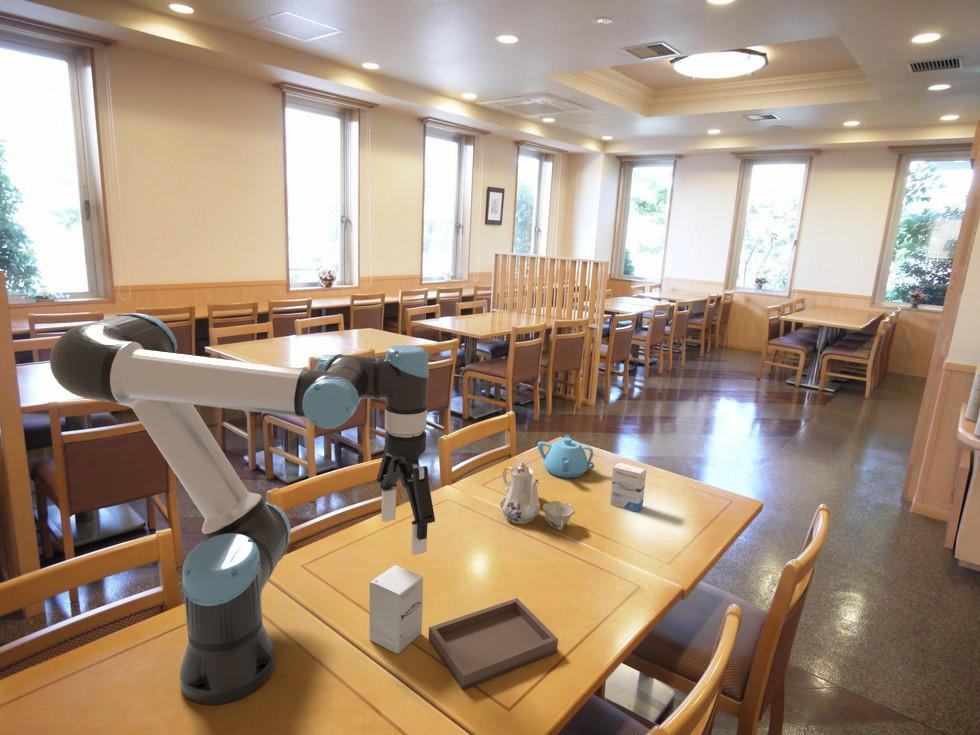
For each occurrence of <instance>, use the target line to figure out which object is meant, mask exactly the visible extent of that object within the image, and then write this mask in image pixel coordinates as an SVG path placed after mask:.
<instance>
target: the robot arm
mask: <svg viewBox="0 0 980 735" xmlns="http://www.w3.org/2000/svg"><path fill="white" fill-rule="evenodd" d="M177 350H178V343H177V339H176V337H175V335H174V332H172V330H171V329H170V328H169V326H168V325H167V324H166V323H164V322H163V321H162V320H160V319H158V318H157V317H154V316H153V315H148V314H146V313H140V312H139V313H137V312H136V313H135V312H134V313H123V314H116V315H114V316H111V317H108V318H104V319H101V320H98V321H93V322H90V323H85V324H82V325H77V326H74V327H72V328H70V329H68V330H67V331H65V333H62V335H60V337H58V338H57V340H56V342H55V343H54V345H53V346H52V349H51V350H50V356H49V365H50V366H49V367H50V369H51V370H50V371H51V373H52V375H53V377H54V379H55V380H56V382H57V383H58V384H59V385H60V386H61V387H62V388H63V389H65V390H66V391H68V392H69V393H71V394H73V395H75V396H77V397H81V398H83V399H87V400H94V401H99V402H100V401H101V402H107V403H116V404H117V405H119V406H120V405H121V406H125V407H129V408H131V409H132V411H133V412H134V414H135V415H136V417H137V418H138V420H139V421H140V423H141V424H142V426H143V427H144V429H145V430H146V432H147V433H148V435H149V437H150V438H151V439H152V441H153V442H154V444H155V446H156V447H157V449H158V450H159V452H160V453H161V455H162V456H163V458H164V459H165V460H166V462H167V464H168V465H169V467H170V468H171V469H172V471H173V474H175V476H176V477H177V479H178V481H180V483H181V485H182V486H183V488H184V489H185V491H186V493H187V494H188V496H189V497H190V499H191V500H192V502H193V503H194V505H195V506H196V507H197V510H198V511H199V512H200V513H201V515H202V517H203V518H204V520H203V525H202V528H201V532H202V534H203V535H204V537H205V538H206V540H203V541H201V542H200V543H197V545H195V547H193V548H192V549H191V550H190V552H189V553H188V554H187V556H186V557H185V559H184V562H183V566H182V578H181V585H182V591H183V596H184V597H183V598H184V607H185V609H184V610H185V619H186V628H187V638H188V642H187V645H186V647H185V648H186V649H185V651H184V652H185V653H184V655H183V657H182V658H183V659H182V662H181V665H180V670H179V683H180V689H181V691H182V693H183V695H184V696H185V697H186V698H187V699H188V700H190V701H192V702H195V703H198V704H201V705H222V704H226V703H231V702H235V701H237V700H240V699H242V698H245V697H247V696H248V695H250V694H252V693H253V692H255V691H257V690H258V689H260V688H261V687H262V686H263V685H264V684H265V683H266V682H267V681H268V680H269V678H270V677H271V675H272V674H273V671H274V669H275V666H276V652H275V646H274V644H273V642H272V640H271V638H270V637H271V636H269V633H268V631H267V630H266V628H265V626H264V623H263V610H262V609H263V607H262V593H263V590H264V589H265V587H266V585H267V583H268V581H269V580H270V578H271V576H272V574H273V572H274V571H275V569H276V567H277V565H278V563H279V562H280V561H281V560H282V559H283V557H284V556H285V554H286V551H287V548H288V546H289V543H290V540H291V534H292V533H291V524H290V520H289V519H288V517H287V515H286V513H285V512H284V510H282V509H281V508H280V507H279V506H277V505H276V504H271V503H270V502H267V501H265V500H264V498H263V496H262V495H261V494H259V493H256V492H250V491H248V489H247V488H246V486H245V485H244V483H243V481H242V480H241V478H240V477H239V475H238V474H237V471H236V470H235V469H234V467H233V465H232V464H231V462H230V461H229V460H228V457H227V456H226V455H225V453H224V451H223V450H222V448H221V447H220V445H219V443H218V442H217V441H216V439H215V437H214V435H213V434H212V432H211V431H210V429H209V428H208V426H207V424H206V423H205V421H204V420H203V418H202V417H201V415H200V414H199V412H198V410H197V408H196V407H195V406H204V407H213V408H221V409H228V410H229V409H230V410H237V411H238V410H239V411H247V412H255V413H262V414H263V413H264V414H265V413H266V414H272V415H273V414H274V415H283V416H293V417H298V418H300V417H301V418H306V419H307V421H308V422H310V423H311V424H313V425H314V426H316V427H318V428H322V429H325V430H326V429H329V430H330V429H336V428H338V427H340V426H342V425H343V424H345V423H346V422H347V421H348V420H349V419H350V418H352V416H353V415H354V414H355V412H357V410H358V409H357V408H358V406H359V404H360V402H361V401H362V399H369V400H370V399H371V400H385V407H384V430H386V431H385V432H384V446H383V454H382V455H383V456H382V459H381V462H380V465H379V469H378V473H377V477H376V482H377V483H378V484H380V485H379V486H380V490H381V523H386V522H391V521H394V520H396V518H397V516H396V512H397V510H396V509H397V489H396V487H397V486H398V484H397V483H398V480H399V479H400V481H401V483H402V487H403V488H405V489H406V493H407V496H408V499H409V504H410V508H411V511H412V515H413V519H414V520H412V521H411V544H410V546H411V549H410V552H411V553H410V554H411V555H412V556H417V555H420V554H424V553H427V551H428V550H427V548H428V547H427V546H428V545H427V543H428V524H431V523H435V522H436V518H435V512H434V505H433V501H432V500H433V499H432V494H431V489H430V483H429V468H428V466H427V465H424V466H420V460H419V457H420V456H421V455H422V454H424V453H425V451H426V449H427V432H426V430H427V418H428V415H429V411H428V398H429V397H428V396H429V380H430V379H429V377H430V370H429V354H428V351H427V350H426V349H424V348H423V347H420V346H417V345H412V344H411V345H409V344H405V345H404V344H403V345H393V346H390V347H388V348H387V350H386V353H385V356H365V355H346V354H342V353H337V354H324V355H321V356H320V357H319V358H318V359H317V363H316V365H315V369H305V368H302V367H301V368H299V367H291V366H282V365H273V364H265V363H259V362H258V363H257V362H249V361H243V360H234V359H233V360H232V359H226V358H225V359H224V358H216V357H208V356H199V355H191V354H184V353H177Z"/></svg>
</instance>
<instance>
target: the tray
mask: <svg viewBox="0 0 980 735" xmlns="http://www.w3.org/2000/svg"><path fill="white" fill-rule="evenodd" d="M428 642H429V644H430V645H431V646H432V648H433V649H434V652H435V653H436V654H437V656H438V657H439V658H440V660H441V661H442V663H443V665H444V666H445V667H446V668H447V670H448V671H449V673H450V674H451V675H452V677H453V679H454V680H455V682H456V683H457V684H458V686H459V688H460V689H461V690H462V691H466V690H468V689H471V688H473V687H476V686H478V685H481V684H483V683H486V682H488V681H491V680H493V679H496V678H498V677H500V676H503V675H505V674H508V673H510V671H511V672H513V671H515V669H516V670H518V669H520V668H522V667H523V668H524V667H525V666H527V665H530V664H533V663H535V662H537V661H540V660H543V659H545V658H548V657H550V656H552V655H554V654H555V655H556V654H557V653H558V644H559V639H558V637H557V636H556V635H555V634H554V633H553V632H552V631H551V630H549V627H547V626H546V625H545V624H544V623H543V622H542V621H541V620H540V619H539V618H538V617H537V616H536V615H534V613H533V612H531V610H530V609H529V608H528V607H527V606H526V605H525V604H524V603H523V602H522V601H521V600H520V599H519V598H518V597H516V598H513V599H509V600H507V601H504V602H501V603H498V604H495V605H492V606H489V607H487V608H484V609H480V610H477V611H474V612H471V613H468V614H465V615H462V616H460V617H456V618H453V619H450V620H447V621H444V622H441V623H438V624H435V625H431V626H429V627H428Z"/></svg>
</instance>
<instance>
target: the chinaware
mask: <svg viewBox="0 0 980 735" xmlns="http://www.w3.org/2000/svg"><path fill="white" fill-rule="evenodd" d="M508 470H509V473H510V477H511V479H510V481H509V482H508V481H507V471H508ZM534 473H535V472H534V469H532V468H529V467H528V466H527V465H526V464H525V462H524V461H521V462H520V463H519V465H517V466H514V467H511V466H507V467H505V468H504V469H503V471H502V479H503V482H504V485H505V486H506V488H505V493H506V495H505V497H504V498H503V499H502V500H501V502H500V504H499V507H500V509H501V511H502V513H503V517H504V520H506V521H508V522H509V523H512V524H516V525H526V524H530V523H532V522H533V521H535V518H536V517H537V516H539V515H540V511H541V509H540V508H541V507H542V510H543V512H544V517H545V519H546V520H547V522H548V524H550V527H552V528H553V529H554V530H559V531H563V528H564V526H566V525H567V523H568V522H570V520H571V517H572V515H575V510H574V507H573V506H572V504H571V503H567V502H566V503H563V502H561V501H560V500H559V501H558V500H551V501H550V502H549V503H545V502H544V504H543V503H542V506H541V507H540V505H541V504H540V500H539V493H538V486H539V484H540V483H539V481H540V480H539V479H534V480H533V475H534Z"/></svg>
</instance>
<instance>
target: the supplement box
mask: <svg viewBox="0 0 980 735" xmlns="http://www.w3.org/2000/svg"><path fill="white" fill-rule="evenodd" d="M423 589H424V576H423V575H421V574H418V573H415V572H414V571H411V570H408V569H406V568H403V567H401V566H398V565H397V564H394V565H392V566H391V567H390V568H388V569H386V570H384V572H382V573H381V574H379V575H378V576H377V577H375V578H373V579H372V580H371V581H370V582H369V640H370V641H371V642H373V643H375V644H377V645H379V646H381V647H383V648H385V649H387V650H388V651H390V652H393V653H395V654H397V655H398V654H400V653H402V651H403V650H404V649H405V648H406V647H407V646H408V645H409V644H411V643H412V642H413V641H414V640H415V639H416V638H417V637H419V636H420V635H422V632H423V631H422V630H423V597H424V596H423V594H424V593H423V591H424V590H423Z"/></svg>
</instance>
